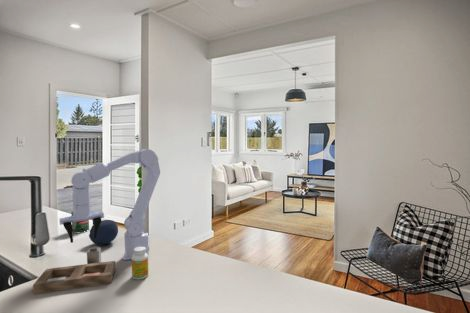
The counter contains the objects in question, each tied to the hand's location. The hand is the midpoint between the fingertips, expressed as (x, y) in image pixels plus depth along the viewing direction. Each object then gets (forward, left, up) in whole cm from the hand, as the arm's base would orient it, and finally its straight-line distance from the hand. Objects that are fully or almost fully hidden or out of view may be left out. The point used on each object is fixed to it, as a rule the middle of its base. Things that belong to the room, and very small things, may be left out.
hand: (83, 239), depth 105 cm
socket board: (-1, +13, -10) cm, 16 cm away
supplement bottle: (-21, +16, -10) cm, 28 cm away
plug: (-4, +2, -10) cm, 11 cm away
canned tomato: (+11, -45, -10) cm, 48 cm away
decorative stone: (-4, -21, -10) cm, 24 cm away
